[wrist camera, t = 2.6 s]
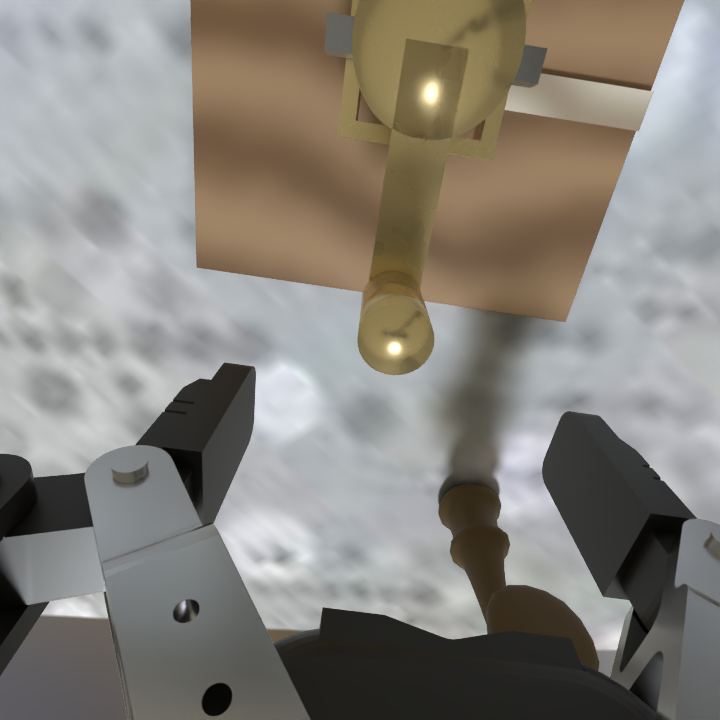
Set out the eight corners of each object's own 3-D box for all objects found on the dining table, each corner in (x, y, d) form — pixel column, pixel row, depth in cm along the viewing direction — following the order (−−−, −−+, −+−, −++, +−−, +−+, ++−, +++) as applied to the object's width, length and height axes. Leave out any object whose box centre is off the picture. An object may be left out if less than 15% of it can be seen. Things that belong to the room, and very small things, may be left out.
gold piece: (342, -53, 18) (314, -222, 10) (544, -18, 18) (676, -156, 10) (310, 290, 24) (276, 358, 16) (459, 312, 25) (500, 390, 17)
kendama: (419, 537, 38) (456, 880, 20) (448, 451, 34) (527, 784, 16) (485, 548, 38) (579, 895, 20) (521, 463, 34) (680, 805, 16)
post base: (192, -304, 18) (113, -500, 13) (746, -202, 19) (897, -347, 13) (202, 263, 28) (161, 289, 23) (559, 316, 29) (601, 353, 24)
